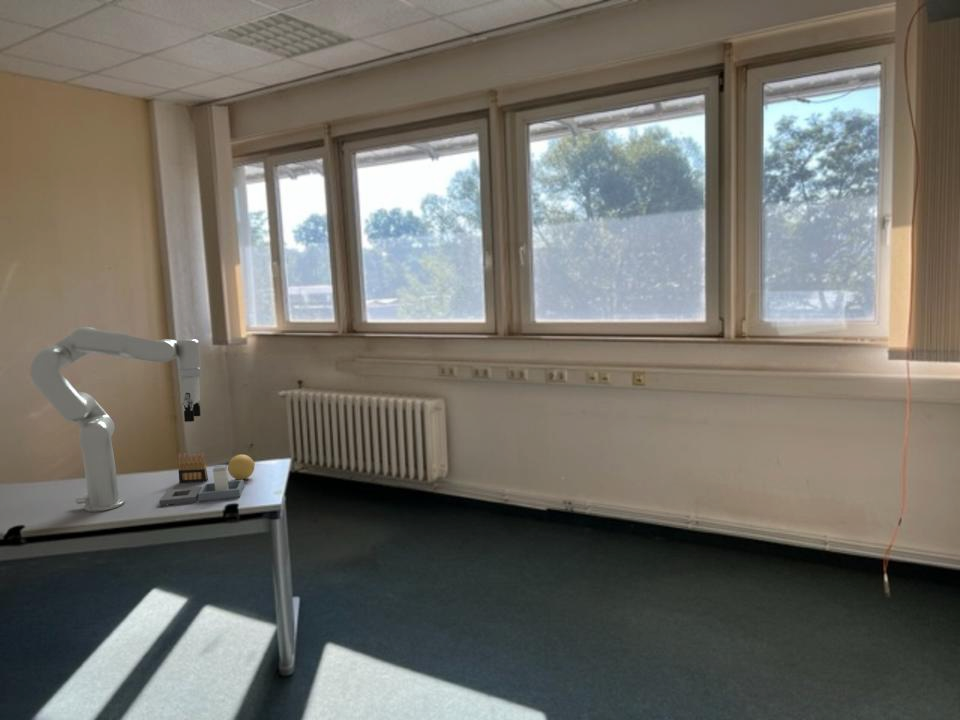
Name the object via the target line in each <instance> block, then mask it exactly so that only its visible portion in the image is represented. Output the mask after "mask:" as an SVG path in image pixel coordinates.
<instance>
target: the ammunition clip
mask: <svg viewBox="0 0 960 720" xmlns="http://www.w3.org/2000/svg"><path fill="white" fill-rule="evenodd" d="M181 454H182V453H181V452H178V457H177V458H178V482H179V484H188V483H204V482H203V481H206V482H208V481H209V476H208V471H207V466H206V460H205V455H204V452H203V451H201V453H200V454H199V452H198V451H197V452H196V455H195V453H194V452H192V453H191V454H192V455H191V454H190V452H188V453H187V456H186V453H185V452H183V454H182V455H181ZM207 480H208V481H207Z"/></svg>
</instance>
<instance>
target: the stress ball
mask: <svg viewBox="0 0 960 720" xmlns="http://www.w3.org/2000/svg"><path fill="white" fill-rule="evenodd" d="M254 471H255V460H253V459H252V457H250V455H248V454H237V455H235V456H234V457H232V458H231V459H230V460H229V462H228V464H227V472H228V473H229V475H230V476H231V477H232V478H233V479H234V480H235V479H236V480H243V479H245V480H246V479H248V478H249V477H251V476H252V474H253V472H254Z"/></svg>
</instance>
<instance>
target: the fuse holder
mask: <svg viewBox="0 0 960 720" xmlns="http://www.w3.org/2000/svg"><path fill="white" fill-rule="evenodd" d="M202 487H203V486H193V487H186V488H176V489H175V488H174V489H167V490H166V491H165V493H164V494H163V495H162V496H161V498H160V499H159V501H158V503H159V506H160V505H165V506H168V505H167V504H174V505H180V504H179V503H183V504H190V502H192V503H197V501H198V500H199V498H198V493H199V492H200V490H201V488H202ZM197 499H198V500H197Z"/></svg>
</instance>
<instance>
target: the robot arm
mask: <svg viewBox="0 0 960 720" xmlns="http://www.w3.org/2000/svg"><path fill="white" fill-rule="evenodd" d="M88 354H96V355H102V356H103V355H106V356H113V357H119V358H128V359H134V360H142V361H149V362H158V363H167V362H170V361H172V360H173V359H177V363H178V365H177V366H178V378H179V379H180V405H181V406H183V415H184V416H183V418H184V422H186V423H190V422H194V421H195V417H200V416H201V405H200V401H201V388H200V378H201V377H202V367H201V366H202V363H201V346H200V341H199V340H198V339H195V338H188V339H170V338H164V339H160V340H159V339H158V340H157V339H149V338H148V339H147V338H142V337H137V336H133V335H131V334H129V333H127V332H120V331H113V330H112V331H111V330H103V329H96V328H95V327H90V326H82V327H78V328H76V329H75V330H73V331H72V332H71V334H70V335H68V336H67V337H65V338H63V339H62V340H60V341H58V342H56V343H55V344H52V345H51V346H48V347H45V348H43V349H41V350H40V351H39V352H38V353H36V355H35V356H34V358H33V359H32V361H31V364H30V367H29V369H30V373H29V374H30V378H31V380H32V382H33V384H34V385H35V387H36V388H37V389H38V391H40V393H42V395H43V396H44V397H45V398H46V400H47V401H48V402H49V403H50V404H51V405H52V406H53V407H54V409H55V410H56V411H57V412H58V413H59V415H60V416H61V417H62V418H63V419H64V420H66V421H67V422H70V423H77V424H78V425H79V427H80V430H79V434H78V441H79V446H80V450H81V455H82V461H83V468H84V475H85V476H84V477H85V482H86V483H85V484H86V490H87V491H86V492H87V495H85V496H78V497H75V503H76V504H77V505H81V504H82V505H83V504H84V505H83V509H84V511H85V512H90V513H96V512H103V511H109V510H113V509H116V508H118V507H121V506H123V505H124V504H125V498H123V497H121V496H119V485H118V478H117V470H116V462H115V461H116V460H115V453H114V448H113V442H112V436H113V435H114V432H115V430H116V429H115V423H114V420H113V419H112V418H111V417H110V415H109V414H108V413H107V412H106V410H105V409H104V408H103V407H102V406H101V405H100V404H99V402H98V401H97V400H96V399H95V398H94V397H93V396H92V395H91V394H89V393H87V392H84V391H77V389H76V388H74V386H73V385H72V383H71V382H70V381H69V380H68V379H67V378H66V377H64V376H63V374H62V372H61V370H62V369H64V368H67V367H68V366H70V365H71V364H73V363H74V362H77V361H78V360H80V359H81V358H83V357H84V356H86V355H88Z"/></svg>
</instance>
